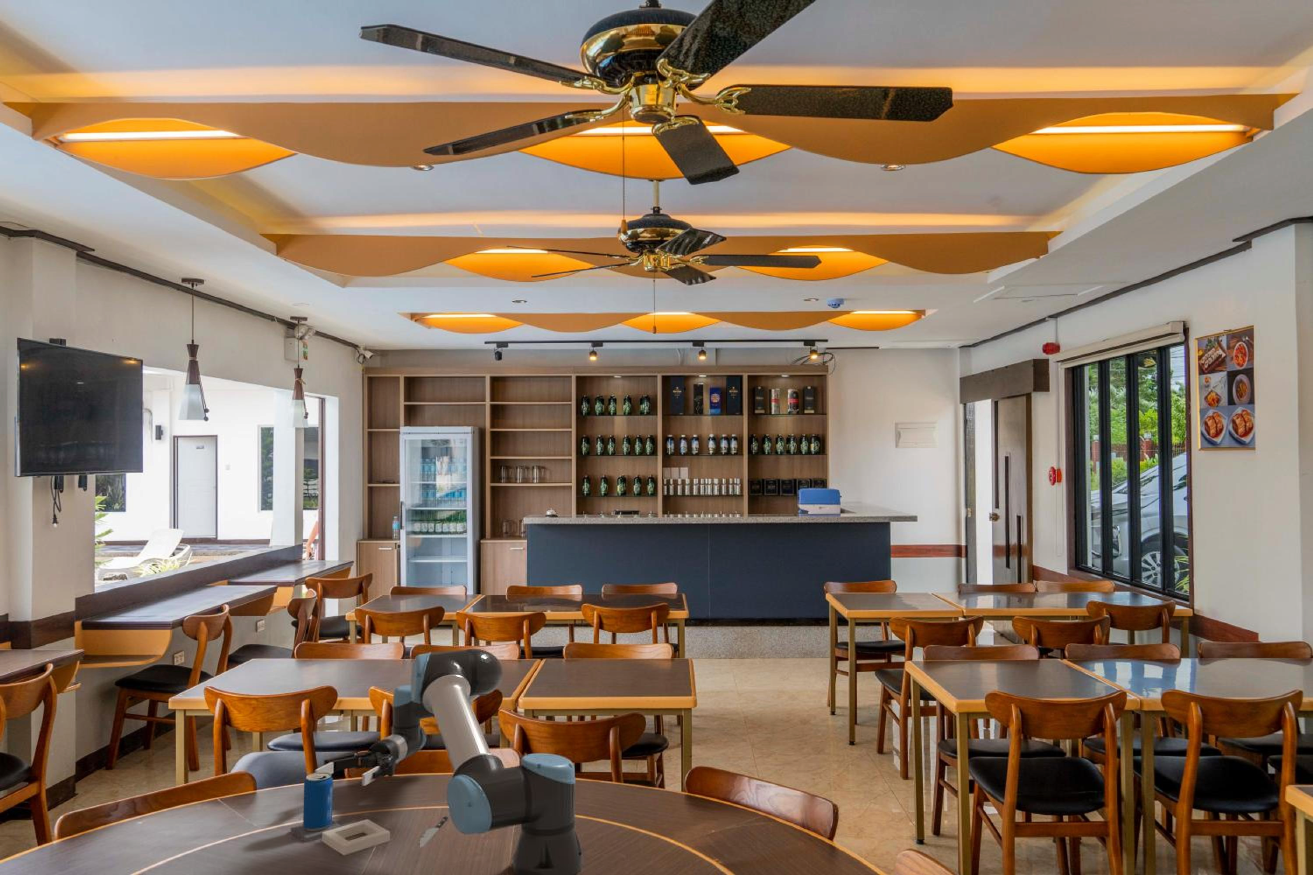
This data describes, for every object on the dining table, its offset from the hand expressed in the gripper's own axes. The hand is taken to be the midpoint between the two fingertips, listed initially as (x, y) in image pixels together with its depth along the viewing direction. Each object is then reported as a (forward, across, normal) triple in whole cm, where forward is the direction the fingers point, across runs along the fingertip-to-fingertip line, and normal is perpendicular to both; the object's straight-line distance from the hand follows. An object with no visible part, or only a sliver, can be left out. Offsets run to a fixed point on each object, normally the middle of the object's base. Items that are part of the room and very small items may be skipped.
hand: (339, 777), depth 213 cm
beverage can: (+8, 0, -9) cm, 12 cm away
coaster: (+8, 0, -10) cm, 13 cm away
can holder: (+11, -12, -10) cm, 19 cm away
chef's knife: (+3, -27, -10) cm, 29 cm away
